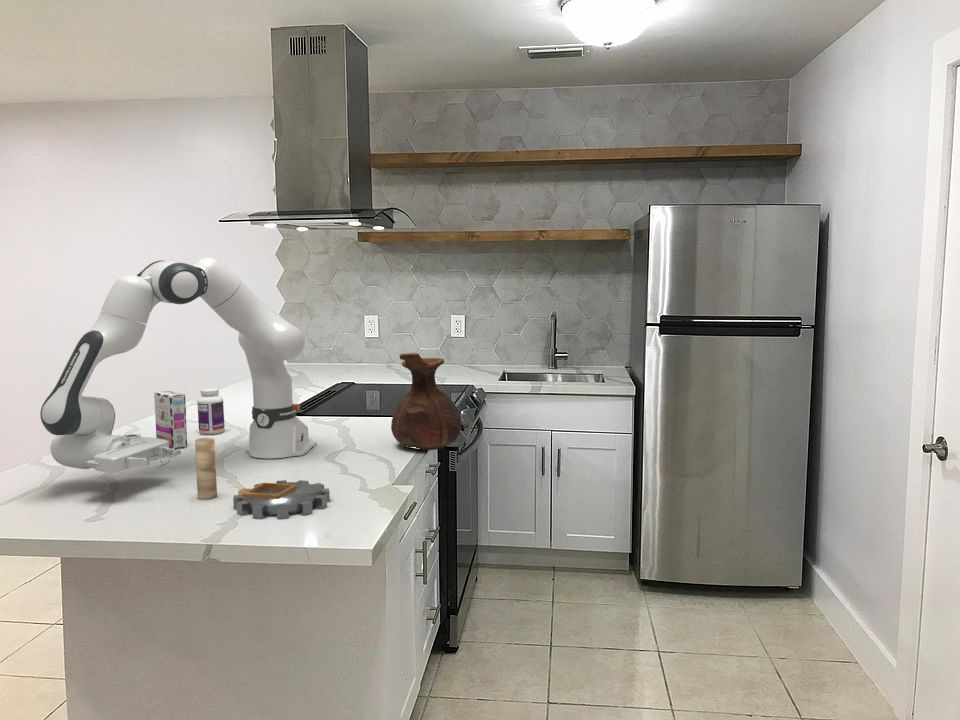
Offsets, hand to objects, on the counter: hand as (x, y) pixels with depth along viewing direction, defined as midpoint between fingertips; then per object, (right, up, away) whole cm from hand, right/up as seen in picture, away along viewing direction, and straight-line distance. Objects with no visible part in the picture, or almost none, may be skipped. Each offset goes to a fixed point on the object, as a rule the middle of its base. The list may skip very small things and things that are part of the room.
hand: (160, 457), depth 188 cm
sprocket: (+31, -10, -7) cm, 33 cm away
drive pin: (+12, -9, -2) cm, 15 cm away
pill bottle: (-11, -1, +67) cm, 68 cm away
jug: (+61, -3, +49) cm, 78 cm away
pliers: (-14, -5, +33) cm, 36 cm away
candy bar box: (-17, -3, +49) cm, 52 cm away
